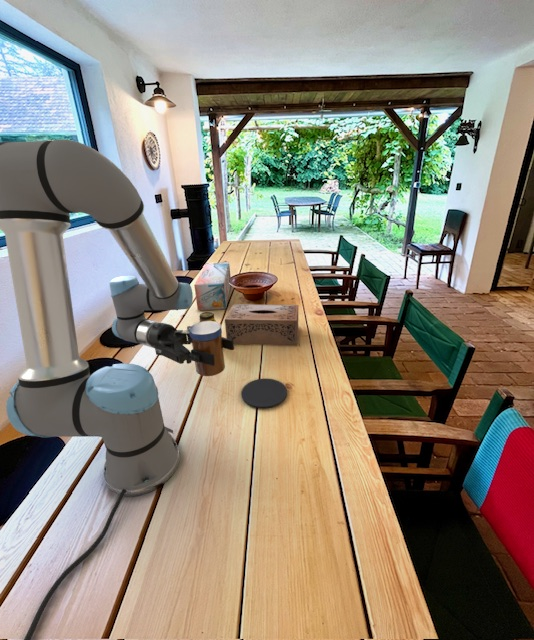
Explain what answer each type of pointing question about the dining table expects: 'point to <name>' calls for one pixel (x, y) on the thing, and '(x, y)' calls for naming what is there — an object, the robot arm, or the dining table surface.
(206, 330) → the lid
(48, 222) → the robot arm
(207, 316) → the condiment
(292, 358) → the dining table surface
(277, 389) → the coaster
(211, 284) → the soda box
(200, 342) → the jar
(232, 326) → the tissue box cover
